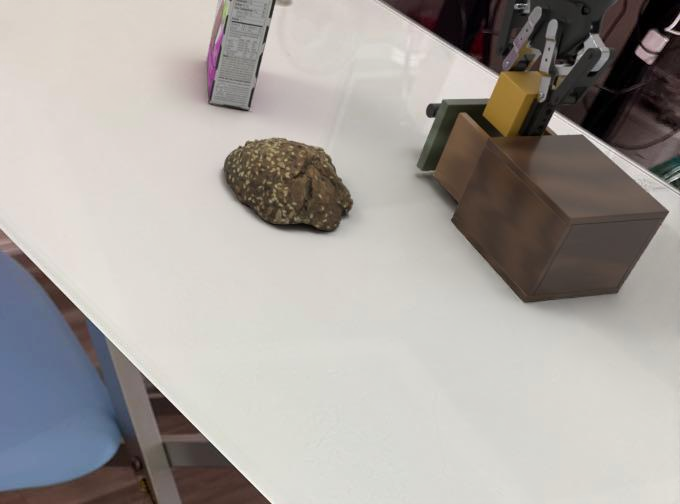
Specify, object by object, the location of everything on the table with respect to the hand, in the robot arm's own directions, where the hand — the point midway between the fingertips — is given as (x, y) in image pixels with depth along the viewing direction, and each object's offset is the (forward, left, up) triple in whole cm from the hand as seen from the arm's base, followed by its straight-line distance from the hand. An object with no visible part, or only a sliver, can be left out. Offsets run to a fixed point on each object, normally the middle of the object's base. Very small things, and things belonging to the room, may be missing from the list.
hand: (513, 123), depth 96 cm
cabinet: (+4, +10, -8) cm, 13 cm away
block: (0, 0, 0) cm, 0 cm away
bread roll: (+20, -9, -8) cm, 23 cm away
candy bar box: (+10, -29, -8) cm, 32 cm away
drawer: (0, -1, -7) cm, 7 cm away
